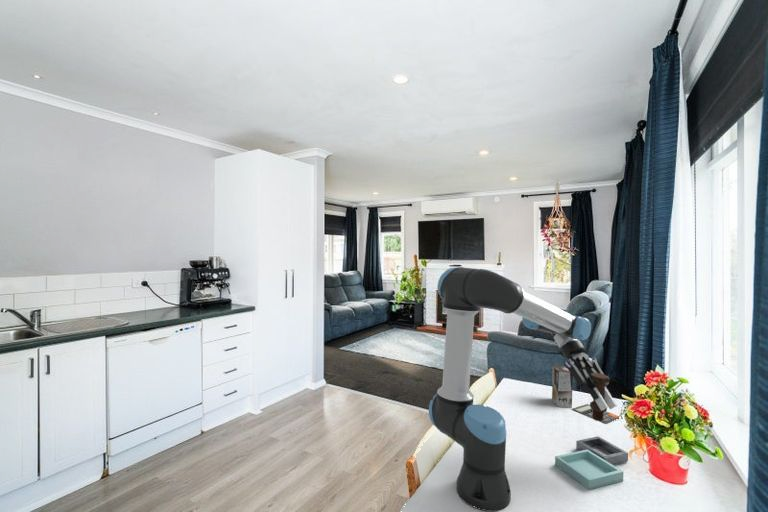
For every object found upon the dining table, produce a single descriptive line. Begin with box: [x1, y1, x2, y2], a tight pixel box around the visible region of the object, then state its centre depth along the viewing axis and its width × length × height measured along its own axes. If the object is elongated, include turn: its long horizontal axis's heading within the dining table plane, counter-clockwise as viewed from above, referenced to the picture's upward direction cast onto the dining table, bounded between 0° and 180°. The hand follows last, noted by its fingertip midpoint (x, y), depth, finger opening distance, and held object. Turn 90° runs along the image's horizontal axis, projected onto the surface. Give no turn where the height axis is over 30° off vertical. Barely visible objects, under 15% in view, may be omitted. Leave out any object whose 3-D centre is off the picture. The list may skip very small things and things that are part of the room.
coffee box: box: [551, 365, 574, 409], centre depth 169 cm, size 9×6×16 cm
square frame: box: [575, 435, 629, 466], centre depth 126 cm, size 10×11×3 cm
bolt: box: [589, 373, 611, 422], centre depth 122 cm, size 6×5×15 cm
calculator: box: [571, 403, 620, 425], centre depth 159 cm, size 12×1×15 cm
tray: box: [554, 450, 624, 491], centre depth 116 cm, size 14×13×3 cm
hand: (609, 407), depth 118 cm, fingers closed on bolt, 3 cm apart
